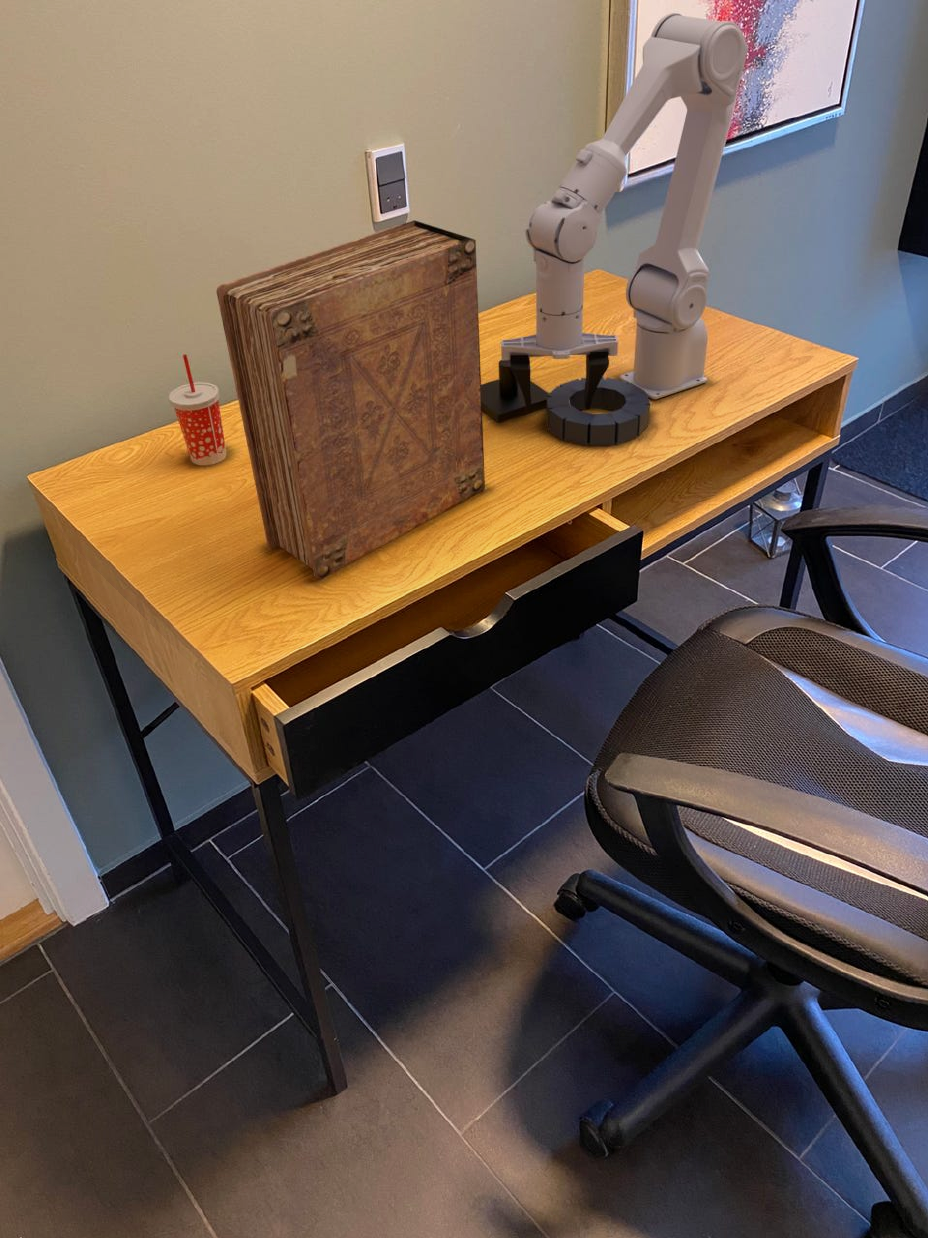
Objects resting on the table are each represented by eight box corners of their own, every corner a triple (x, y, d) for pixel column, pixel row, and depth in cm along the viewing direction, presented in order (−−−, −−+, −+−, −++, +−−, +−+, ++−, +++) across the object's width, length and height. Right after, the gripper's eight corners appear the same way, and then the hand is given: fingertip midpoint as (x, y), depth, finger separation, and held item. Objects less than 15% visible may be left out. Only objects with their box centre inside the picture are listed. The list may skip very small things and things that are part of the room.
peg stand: (519, 380, 142) (518, 342, 138) (554, 404, 136) (554, 365, 132) (464, 397, 139) (462, 359, 135) (498, 422, 133) (497, 383, 129)
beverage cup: (215, 439, 133) (192, 340, 124) (242, 455, 129) (220, 353, 120) (176, 457, 130) (149, 356, 121) (202, 473, 126) (176, 371, 117)
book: (315, 582, 107) (267, 312, 88) (267, 547, 113) (212, 287, 94) (486, 489, 120) (476, 236, 101) (435, 462, 125) (417, 217, 106)
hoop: (607, 388, 139) (608, 368, 137) (668, 426, 130) (670, 405, 128) (527, 415, 134) (527, 394, 132) (584, 456, 125) (585, 434, 123)
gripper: (501, 321, 119) (503, 424, 128) (623, 316, 119) (617, 419, 127) (499, 299, 124) (501, 398, 133) (616, 294, 124) (610, 394, 133)
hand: (557, 407), depth 130 cm, fingers open, 7 cm apart
